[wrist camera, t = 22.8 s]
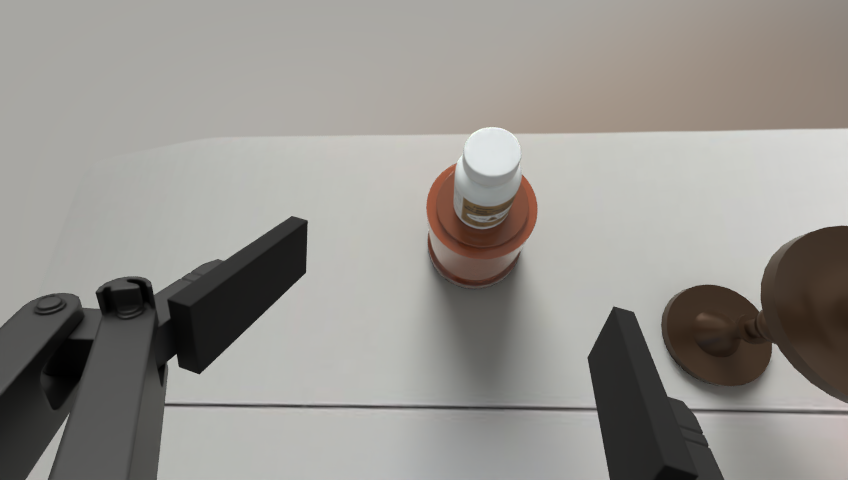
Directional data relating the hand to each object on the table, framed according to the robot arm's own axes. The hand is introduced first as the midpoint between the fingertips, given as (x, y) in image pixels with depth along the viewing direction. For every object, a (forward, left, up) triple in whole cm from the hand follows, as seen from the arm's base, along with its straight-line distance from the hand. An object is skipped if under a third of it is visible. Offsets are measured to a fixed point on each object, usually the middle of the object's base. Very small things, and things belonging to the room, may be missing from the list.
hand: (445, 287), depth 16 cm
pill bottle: (-3, +9, -12) cm, 15 cm away
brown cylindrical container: (-3, +9, -22) cm, 24 cm away
